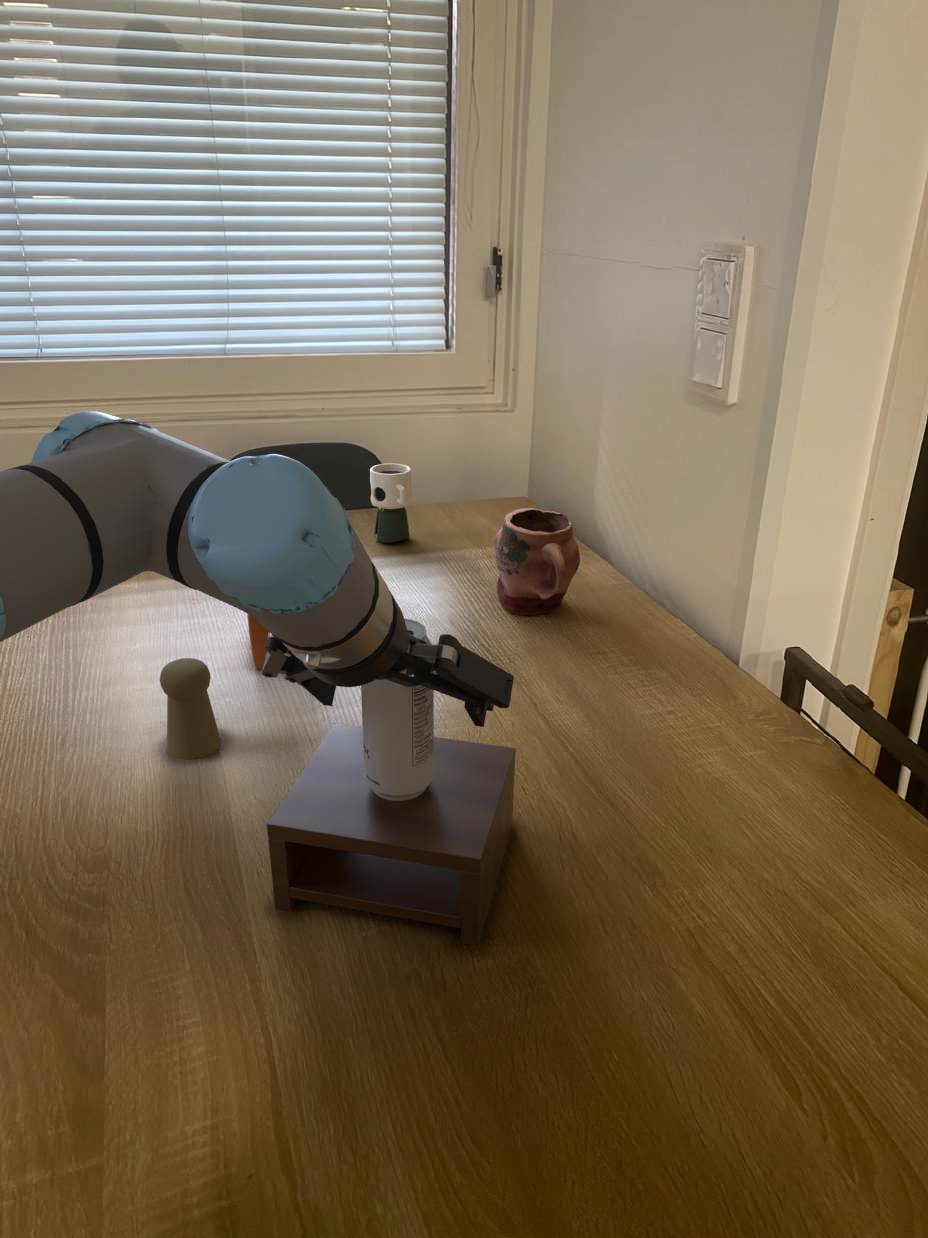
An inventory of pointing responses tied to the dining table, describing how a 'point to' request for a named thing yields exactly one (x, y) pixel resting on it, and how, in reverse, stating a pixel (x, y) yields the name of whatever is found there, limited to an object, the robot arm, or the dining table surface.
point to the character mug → (391, 500)
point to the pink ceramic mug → (535, 560)
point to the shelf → (396, 835)
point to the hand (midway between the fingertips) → (405, 701)
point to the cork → (189, 709)
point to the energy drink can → (398, 734)
